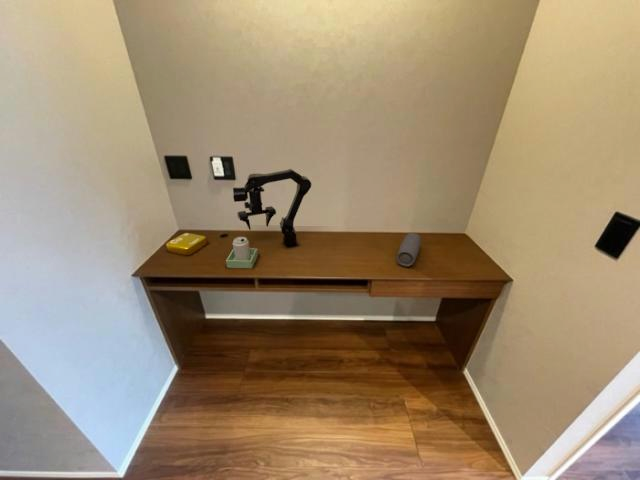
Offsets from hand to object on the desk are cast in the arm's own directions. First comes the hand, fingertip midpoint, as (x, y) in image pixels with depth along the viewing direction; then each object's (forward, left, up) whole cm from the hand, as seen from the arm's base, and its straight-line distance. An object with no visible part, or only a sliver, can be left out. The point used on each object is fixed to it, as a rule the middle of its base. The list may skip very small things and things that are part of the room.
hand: (258, 228), depth 139 cm
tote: (+12, +9, -12) cm, 19 cm away
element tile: (+35, -19, -12) cm, 42 cm away
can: (+12, +9, -12) cm, 19 cm away
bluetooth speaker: (-65, +45, -12) cm, 80 cm away
